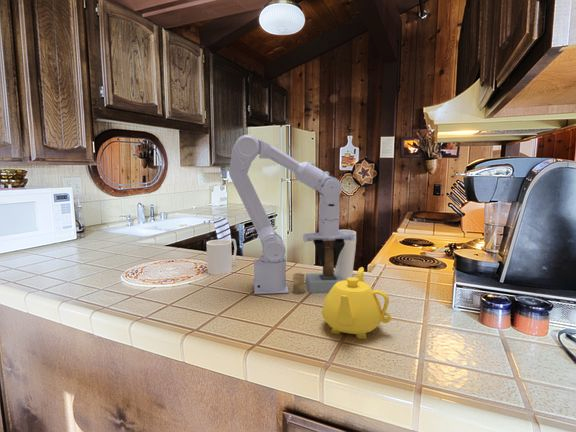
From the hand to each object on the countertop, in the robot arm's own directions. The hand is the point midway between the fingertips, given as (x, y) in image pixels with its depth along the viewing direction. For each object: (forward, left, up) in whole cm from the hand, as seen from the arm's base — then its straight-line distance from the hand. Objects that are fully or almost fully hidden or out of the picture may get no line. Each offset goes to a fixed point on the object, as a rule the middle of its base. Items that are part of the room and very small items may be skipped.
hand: (328, 264), depth 100 cm
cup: (-32, +20, -7) cm, 38 cm away
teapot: (+1, -26, -7) cm, 27 cm away
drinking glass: (+7, +8, -7) cm, 13 cm away
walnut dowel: (0, 0, -3) cm, 3 cm away
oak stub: (-9, -3, -7) cm, 12 cm away
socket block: (-1, 0, -7) cm, 7 cm away
